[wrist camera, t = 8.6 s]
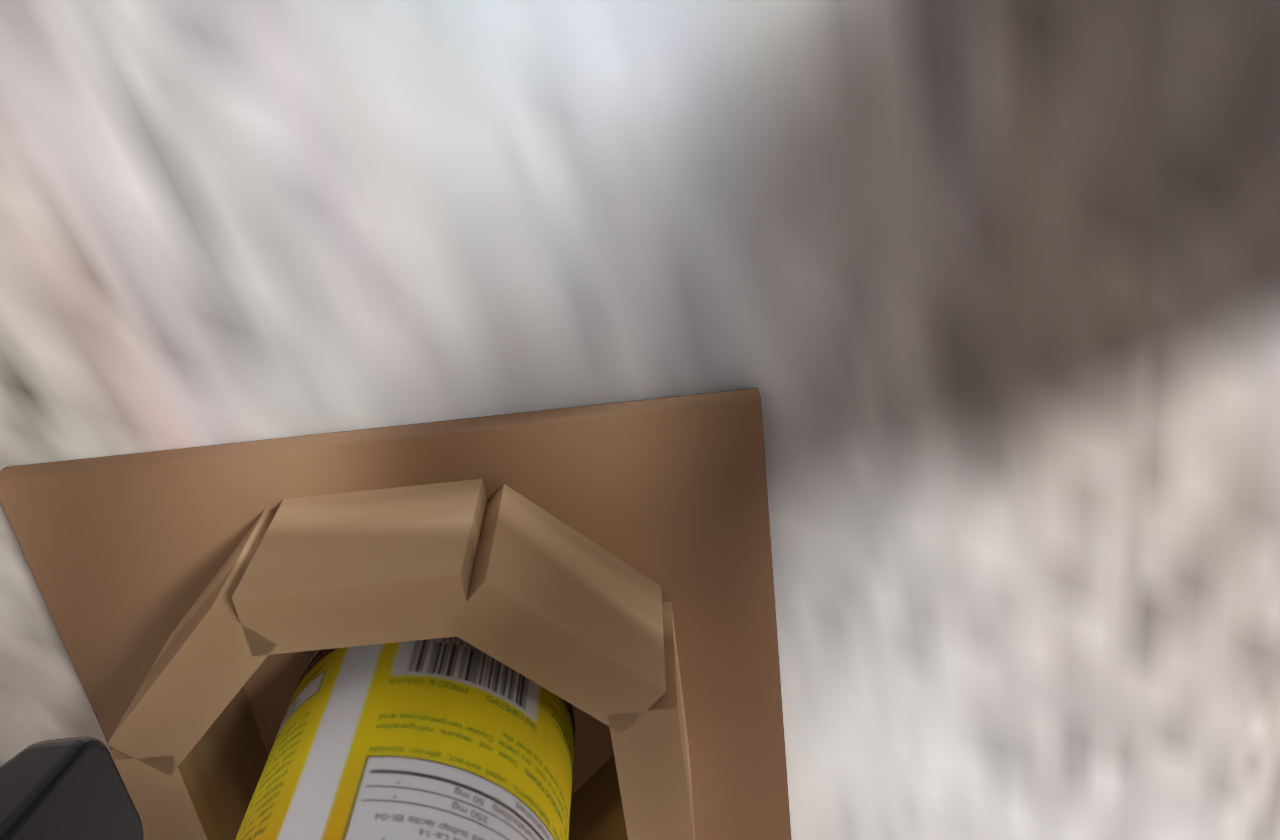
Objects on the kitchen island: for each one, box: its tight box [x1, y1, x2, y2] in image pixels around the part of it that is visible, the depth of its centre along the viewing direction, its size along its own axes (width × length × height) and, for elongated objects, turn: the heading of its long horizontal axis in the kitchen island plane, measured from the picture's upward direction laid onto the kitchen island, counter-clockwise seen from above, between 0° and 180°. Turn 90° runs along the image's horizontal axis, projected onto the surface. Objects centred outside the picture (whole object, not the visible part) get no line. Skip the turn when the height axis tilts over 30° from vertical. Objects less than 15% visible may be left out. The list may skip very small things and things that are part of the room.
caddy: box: [0, 388, 791, 840], centre depth 21 cm, size 14×12×4 cm
